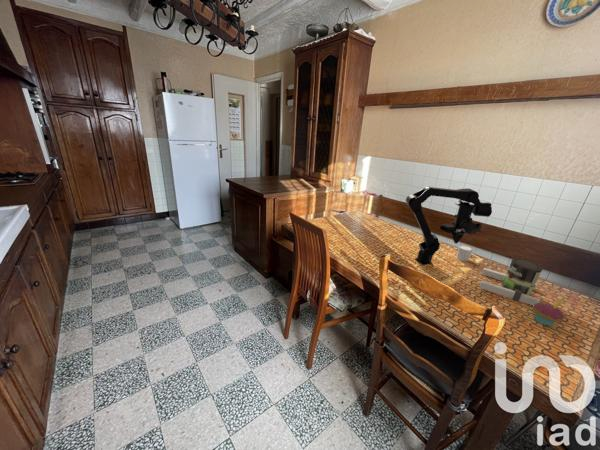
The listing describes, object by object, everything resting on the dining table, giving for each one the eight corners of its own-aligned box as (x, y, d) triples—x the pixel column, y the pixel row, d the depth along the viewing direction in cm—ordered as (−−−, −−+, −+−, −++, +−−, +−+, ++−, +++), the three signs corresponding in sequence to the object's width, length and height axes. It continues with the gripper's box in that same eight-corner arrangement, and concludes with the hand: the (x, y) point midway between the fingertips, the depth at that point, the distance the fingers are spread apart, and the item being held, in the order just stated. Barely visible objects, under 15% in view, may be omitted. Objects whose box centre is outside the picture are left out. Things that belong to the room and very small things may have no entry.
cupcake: (551, 317, 95) (564, 291, 91) (564, 333, 87) (579, 306, 83) (524, 311, 98) (535, 286, 93) (535, 326, 90) (548, 299, 86)
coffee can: (513, 298, 106) (525, 269, 101) (495, 284, 115) (505, 257, 110) (536, 298, 106) (550, 270, 101) (517, 284, 116) (528, 258, 110)
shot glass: (471, 262, 134) (475, 251, 132) (458, 261, 136) (461, 249, 133) (466, 256, 141) (469, 246, 138) (453, 255, 142) (456, 244, 139)
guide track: (479, 288, 112) (481, 280, 110) (482, 272, 125) (484, 265, 123) (537, 307, 100) (541, 299, 99) (534, 288, 113) (537, 281, 112)
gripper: (460, 220, 112) (452, 251, 117) (494, 219, 115) (484, 249, 121) (443, 213, 122) (435, 241, 127) (474, 212, 125) (466, 239, 131)
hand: (455, 243), depth 126 cm, fingers closed
